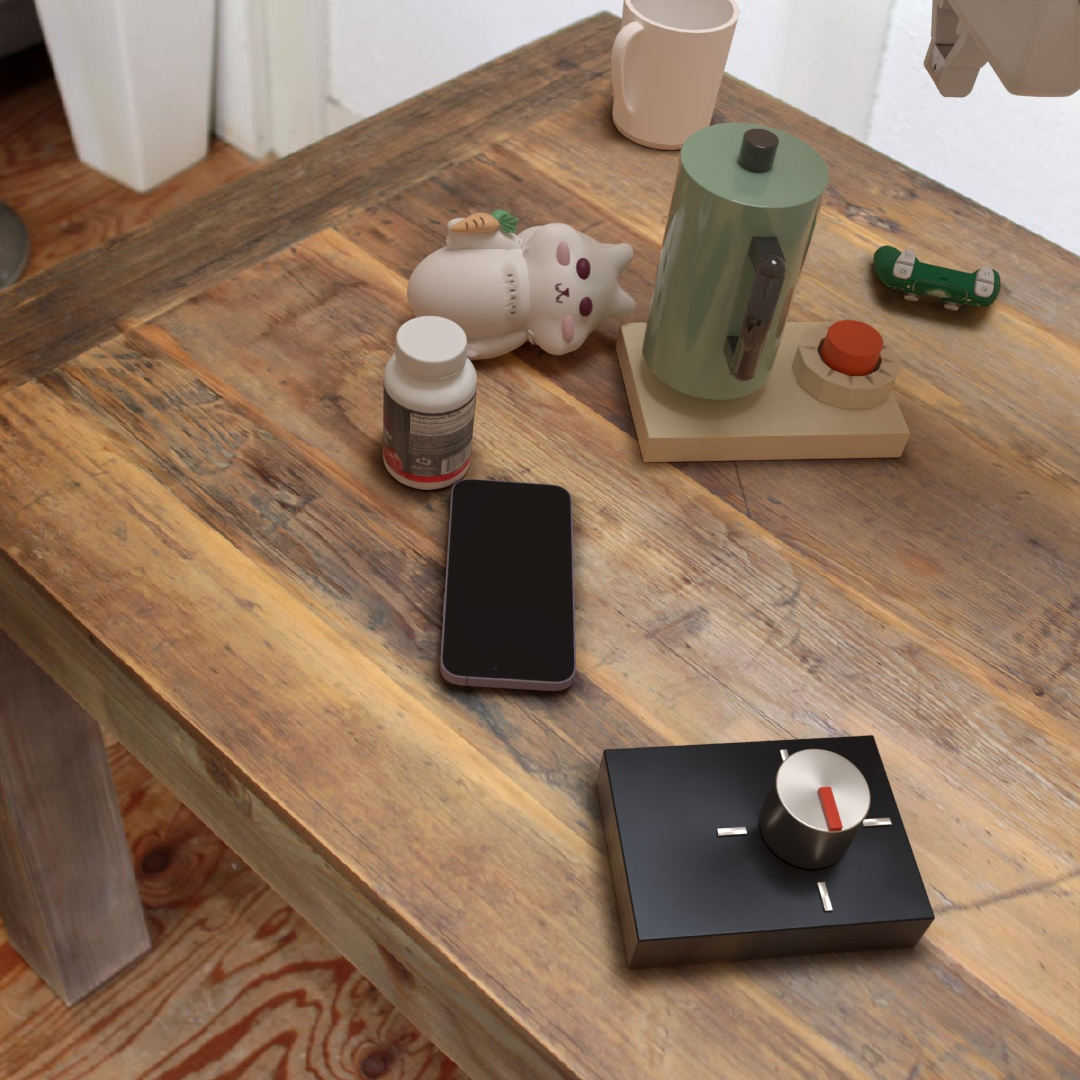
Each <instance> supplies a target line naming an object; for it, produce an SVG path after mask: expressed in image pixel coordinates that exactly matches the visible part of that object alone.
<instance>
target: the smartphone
mask: <svg viewBox="0 0 1080 1080" xmlns="http://www.w3.org/2000/svg"><path fill="white" fill-rule="evenodd" d="M449 505H450V506H449V518H448V519H449V520H448V534H447V536H448V537H447V550H446V551H447V552H446V566H445V567H446V568H445V581H444V582H445V583H444V593H443V601H442V605H443V606H442V628H441V629H442V631H441V643H440V644H441V646H440V659H439V669H440V673H441V676H442V677H443V679H444V680H446V681H447V682H448V683H450V684H453V685H456V686H462V687H463V686H464V687H465V686H466V687H480V688H495V689H515V690H530V691H546V692H559V691H563V690H566V689H568V688H569V687H570V686H571V685H572V684H573V683H574V680H575V676H576V670H577V641H576V601H575V569H574V568H575V566H574V529H573V528H574V525H573V498H572V494H571V493H570V491H568V489H566V488H565V487H563V486H560V485H557V484H551V483H535V482H521V481H507V480H495V479H492V480H491V479H481V478H479V479H478V478H463V479H459V480H458V481H457V482H455V483H453V485H452V488H451V491H450V504H449Z"/></svg>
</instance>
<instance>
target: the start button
mask: <svg viewBox="0 0 1080 1080" xmlns="http://www.w3.org/2000/svg"><path fill="white" fill-rule="evenodd" d="M834 322H835V323H834V324H832V325H831V326H830V327H829V329H828V332H827V335H826V338H825V341H824V344H823V347H822V350H821V356H822V359H823V361H824V362H825V364H826V365H827V366H828V367H830V368H831V369H832V370H834V371H837V372H840V373H842V374H845V375H848V376H864V375H867V374H869V373H871V372H872V371H873V370H874V368H875V367H876V364H877V361H878V358H879V356H880V353H881V350H882V348H883V339H882V337H883V336H882V335H881V333H880V332H879V331H878V330H877V329H876V328H875V327H873V326H871V325H870V324H868V323H865V322H863V321H861V320H855V319H842V320H838V321H834Z"/></svg>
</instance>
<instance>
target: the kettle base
mask: <svg viewBox="0 0 1080 1080" xmlns="http://www.w3.org/2000/svg"><path fill="white" fill-rule="evenodd" d="M835 322H836V321H787V323H786V327H785V330H784V333H783V337H782V340H781V343H780V347H779V350H778V353H777V357H776V360H775V363H774V367H773V370H772V373H771V376H770V378H769V379H768V381H767V382H766V383H765V384H764V385H763V386H762V387H761V388H760V389H758V390H757V391H755V392H753V393H752V394H749V395H747V396H744V397H740V398H736V399H729V400H711V399H703V398H699V397H694V396H691V395H688V394H685V393H682V392H680V391H678V390H676V389H674V388H672V387H670V386H668V385H667V384H665V383H664V382H662V381H661V380H660V379H659V378H658V377H657V376H656V375H655V374H654V373H653V372H652V371H651V370H650V369H649V367H648V365H647V364H646V362H645V359H644V357H643V353H642V341H643V336H644V331H645V326H646V322H620V323H619V327H618V332H617V337H616V343H615V351H616V355H617V359H618V363H619V367H620V371H621V376H622V380H623V383H624V387H625V391H626V395H627V399H628V404H629V408H630V412H631V417H632V420H633V421H632V422H633V424H634V429H635V433H636V437H637V441H638V444H639V449H640V453H641V457H642V461H643V463H678V462H680V463H681V462H725V461H726V462H729V461H731V462H732V461H776V460H777V461H778V460H779V461H780V460H783V461H784V460H824V459H825V460H828V459H829V460H831V459H878V458H881V459H882V458H883V459H884V458H885V459H886V458H901V456H902V454H903V452H904V449H905V447H906V445H907V443H908V440H909V438H910V435H911V431H910V429H909V426H908V425H907V422H906V419H905V417H904V415H903V412H902V410H901V407H900V406H899V404H898V401H897V399H896V396H895V395H894V392H893V390H892V388H893V387H894V385H895V381H896V379H897V376H898V373H899V370H900V367H901V365H902V362H901V360H900V357H899V355H898V353H897V351H896V348H895V346H894V345H893V344H892V343H890V342H889V341H888V340H886V338H884V337H883V336H881V337H882V339H883V348H882V350H881V353H880V356H879V358H878V361H877V364H876V367H875V368H874V370H873V371H872V372H871V373H869V374H867V375H864V376H848V375H845V374H842V373H840V372H837V371H834V370H832V369H831V368H830V367H828V366H827V365H826V364H825V362H824V361H823V359H822V356H821V350H822V347H823V344H824V341H825V338H826V335H827V332H828V329H829V327H830V326H831V325H832V324H834V323H835Z"/></svg>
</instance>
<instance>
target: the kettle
mask: <svg viewBox="0 0 1080 1080" xmlns="http://www.w3.org/2000/svg"><path fill="white" fill-rule="evenodd" d="M829 183H830V171H829V168H828V165H827V163H826V161H825V159H824V158H823V157H822V155H821V154H820V153H819V152H818V151H817V150H816V149H815V148H814V147H813V146H811V145H810V144H809V143H807V142H805V141H804V140H802V138H799V137H797V136H795V135H793V134H791V133H788V132H787V131H784V130H781V129H778V128H775V127H771V126H767V125H762V124H759V123H749V122H723V123H717V124H712V125H711V124H710V126H708V127H705V128H702V129H700V130H698V131H696V132H695V133H693V134H692V135H690V136H689V137H688V138H687V139H686V141H685V142H684V144H683V146H682V148H681V149H680V152H679V157H678V162H677V167H676V172H675V176H674V182H673V186H672V192H671V196H670V197H671V198H670V200H669V201H670V202H669V207H668V212H667V215H666V222H665V227H664V232H663V236H662V242H661V246H660V247H661V248H660V251H659V255H658V256H659V257H658V260H657V261H658V262H657V268H656V272H655V276H654V282H653V287H652V293H651V297H650V302H649V307H648V312H647V316H646V322H645V323H646V326H645V331H644V336H643V341H642V353H643V357H644V359H645V362H646V364H647V365H648V367H649V369H650V370H651V371H652V372H653V373H654V374H655V375H656V376H657V377H658V378H659V379H660V380H661V381H662V382H664V383H665V384H667V385H668V386H670V387H672V388H674V389H676V390H678V391H680V392H682V393H685V394H688V395H691V396H694V397H699V398H703V399H711V400H729V399H736V398H740V397H744V396H747V395H749V394H752V393H753V392H755V391H757V390H758V389H760V388H761V387H762V386H763V385H764V384H765V383H766V382H767V381H768V379H769V378H770V376H771V373H772V370H773V367H774V363H775V360H776V357H777V353H778V350H779V347H780V343H781V340H782V337H783V333H784V330H785V327H786V323H787V322H788V320H789V316H790V313H791V310H792V306H793V303H794V299H795V297H796V293H797V291H798V286H799V284H800V280H801V278H802V277H801V276H802V273H803V270H804V266H805V263H806V259H807V257H808V253H809V250H810V246H811V244H812V240H813V236H814V233H815V230H816V227H817V223H818V219H819V217H820V213H821V209H822V206H823V203H824V199H825V196H826V193H827V190H828V186H829Z"/></svg>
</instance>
